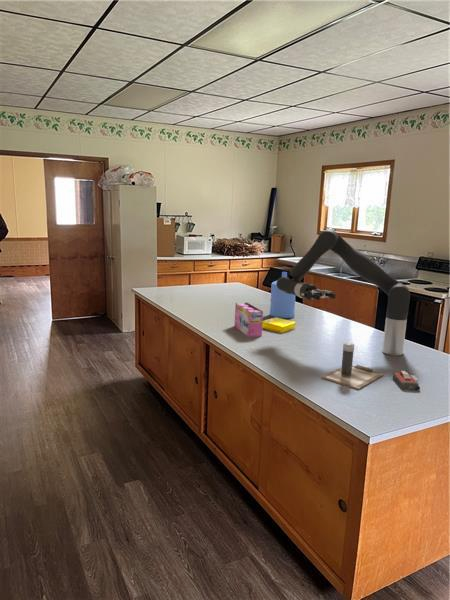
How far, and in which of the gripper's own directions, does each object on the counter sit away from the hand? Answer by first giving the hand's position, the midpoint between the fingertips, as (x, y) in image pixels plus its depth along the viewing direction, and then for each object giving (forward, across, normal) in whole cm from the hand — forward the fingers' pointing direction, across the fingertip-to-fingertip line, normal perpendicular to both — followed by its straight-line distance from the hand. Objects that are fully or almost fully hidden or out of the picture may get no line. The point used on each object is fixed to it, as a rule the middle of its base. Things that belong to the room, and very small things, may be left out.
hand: (327, 297), depth 196 cm
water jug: (-74, +26, +28) cm, 83 cm away
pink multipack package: (-50, -12, +28) cm, 59 cm away
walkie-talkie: (+36, +12, +29) cm, 48 cm away
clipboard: (+25, -5, +28) cm, 38 cm away
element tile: (-49, +8, +28) cm, 57 cm away
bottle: (+25, -8, +27) cm, 38 cm away
